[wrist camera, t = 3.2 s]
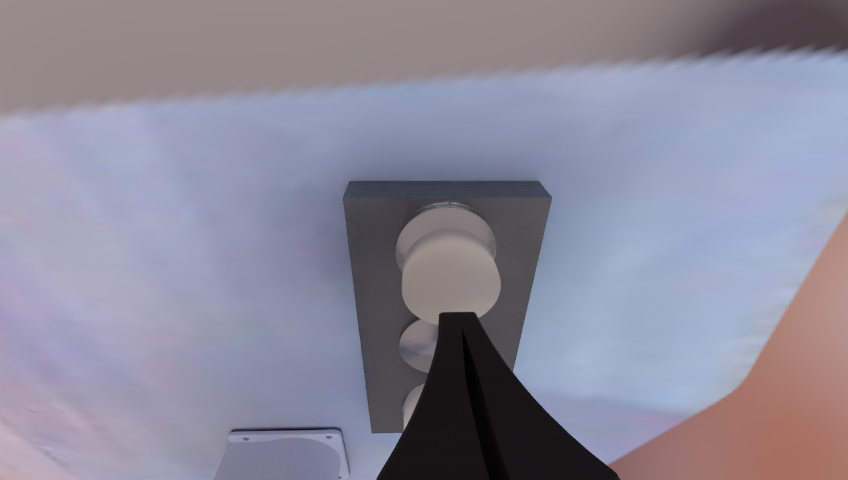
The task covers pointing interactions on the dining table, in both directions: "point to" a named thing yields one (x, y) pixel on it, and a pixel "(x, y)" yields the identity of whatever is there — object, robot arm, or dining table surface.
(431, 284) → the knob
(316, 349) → the dining table surface
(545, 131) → the dining table surface
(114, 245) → the dining table surface
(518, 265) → the mount
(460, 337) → the robot arm
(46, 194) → the dining table surface
